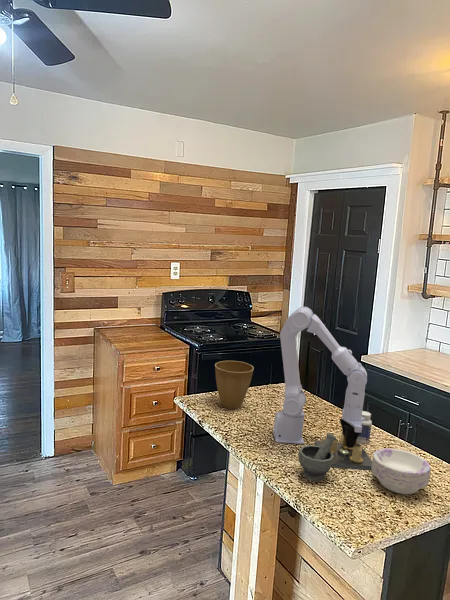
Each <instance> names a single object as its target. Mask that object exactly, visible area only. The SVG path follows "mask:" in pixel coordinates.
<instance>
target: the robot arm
mask: <svg viewBox="0 0 450 600" xmlns="http://www.w3.org/2000/svg"><path fill="white" fill-rule="evenodd" d="M305 329H307V330H306V332H308V333H311V334H315V335H316V336H317V337H318V338H319V340H321V341H322V343H323V344H324V345H325V347H326V348H328V350H329V351H330V352H331V360H332V361H333V362H334V364H335V365H336V366H337V367H338V369H339V370H340V371H341V372H342V374H343V375H345V376H346V380H347V387H346V389H345V397H344V405H343V408H342V411H341V414H342V416H341V418H340V419H339V422H340V425H341V431H342V432H341V434H342V433H346V446H347V447H352V448H353V447H354V445H355V442H356V440H357V438H358V436H359V435H360V433H361V432H362V431H363V429H362V426H361V422H362V421H365V419H364V417H362V411H364V410H363V409H364V401H365V394H366V392H365V390H366V385H367V383H368V373H367V370H366V369H365V366H363V365H362V363H361V362H358V360H357V359H356V358H355V356H353V351H352V350H351V349H348V348H347V347H346V346H341V345H340V344H339V343H338V342H337V340H336V338H334V336H333V335H332V333H331V332H330V331H329V330H328V328H327V327H326V326H325V324H324V323H323V322H322V320H321V319H320V318H319V316H318V315H317V314H315V313H314V312H313V310H312V309H311V308H309V307H308V306H300V307H299V308H297V309H295V310H294V311H293V312H292V313H291V314H290V315H289V316H288V317H287V319H286V321H285V323H284V324H283V326H282V329H281V330H280V332H279V336H280V347H281V356H282V363H283V374H284V384H285V387H284V388H285V389H284V400H283V404H282V410H281V411H276V412H275V415H274V422H273V429H272V433H273V437H274V440H275V442H276V443H283V444H284V443H285V444H295V445H296V444H297V445H300V444H301V445H305V444H306V443H305V440H304V439H303V429H304V423H305V421H304V420H305V411H304V410H303V409H304V405H306V402H307V397H306V395H305V393H304V390H303V385H302V384H301V378H300V370H299V369H300V368H299V358H298V350H297V348H298V347H297V339H296V337H297V335H299V333H300V332H302V331H304V330H305Z"/></svg>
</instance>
